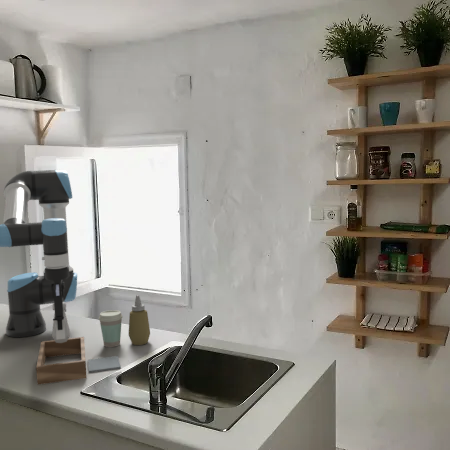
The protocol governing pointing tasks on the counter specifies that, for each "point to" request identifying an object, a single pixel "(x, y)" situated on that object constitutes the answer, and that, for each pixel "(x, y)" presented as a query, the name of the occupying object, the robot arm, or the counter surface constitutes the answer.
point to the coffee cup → (111, 327)
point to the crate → (61, 370)
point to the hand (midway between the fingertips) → (61, 335)
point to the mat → (103, 364)
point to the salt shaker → (67, 330)
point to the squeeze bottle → (138, 323)
